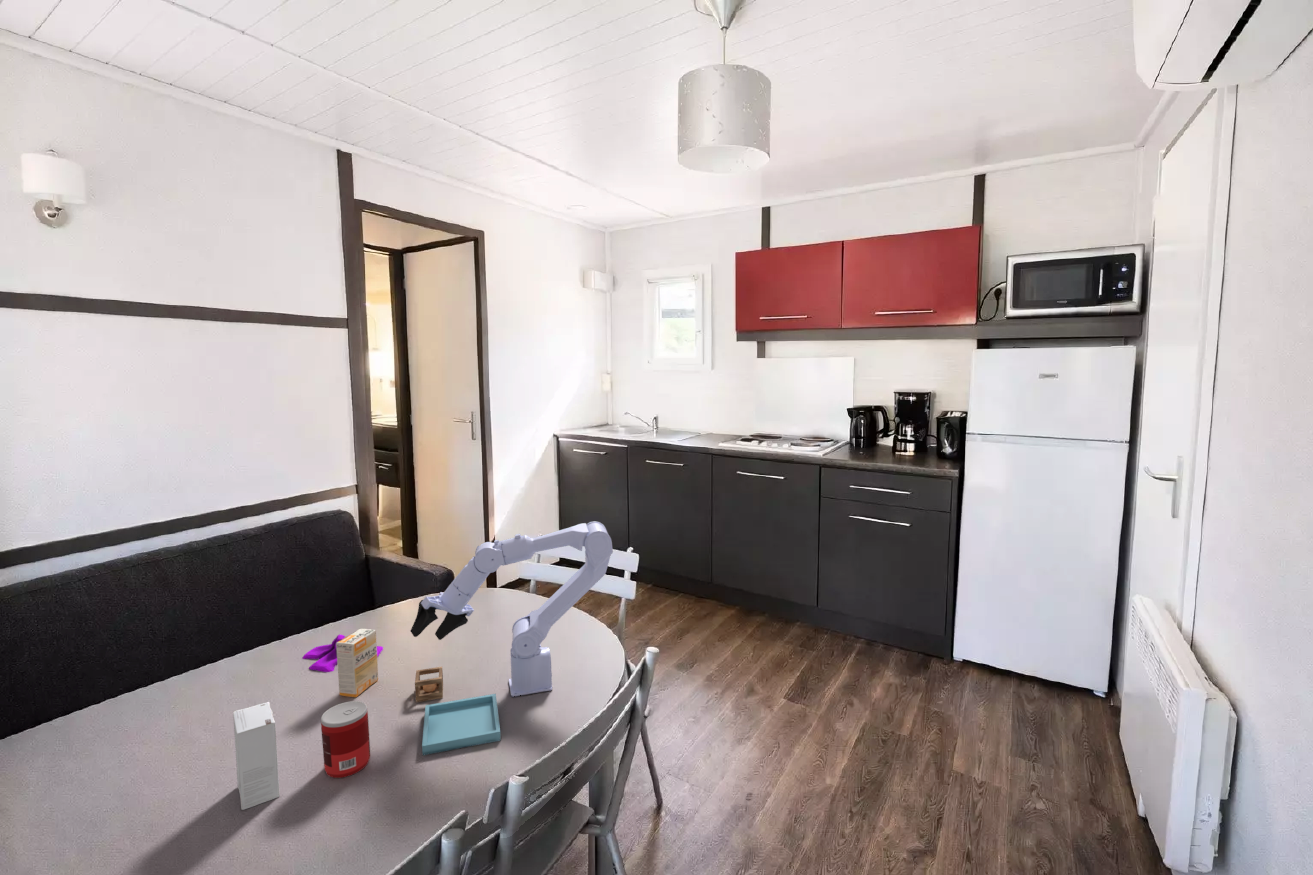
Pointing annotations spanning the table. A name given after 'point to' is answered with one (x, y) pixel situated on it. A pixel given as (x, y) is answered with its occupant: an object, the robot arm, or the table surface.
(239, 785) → the skincare box
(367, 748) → the canned food
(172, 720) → the table surface
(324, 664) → the cloth
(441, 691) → the wooden cage puzzle
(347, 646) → the supplement box
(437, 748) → the tray
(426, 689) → the ball
